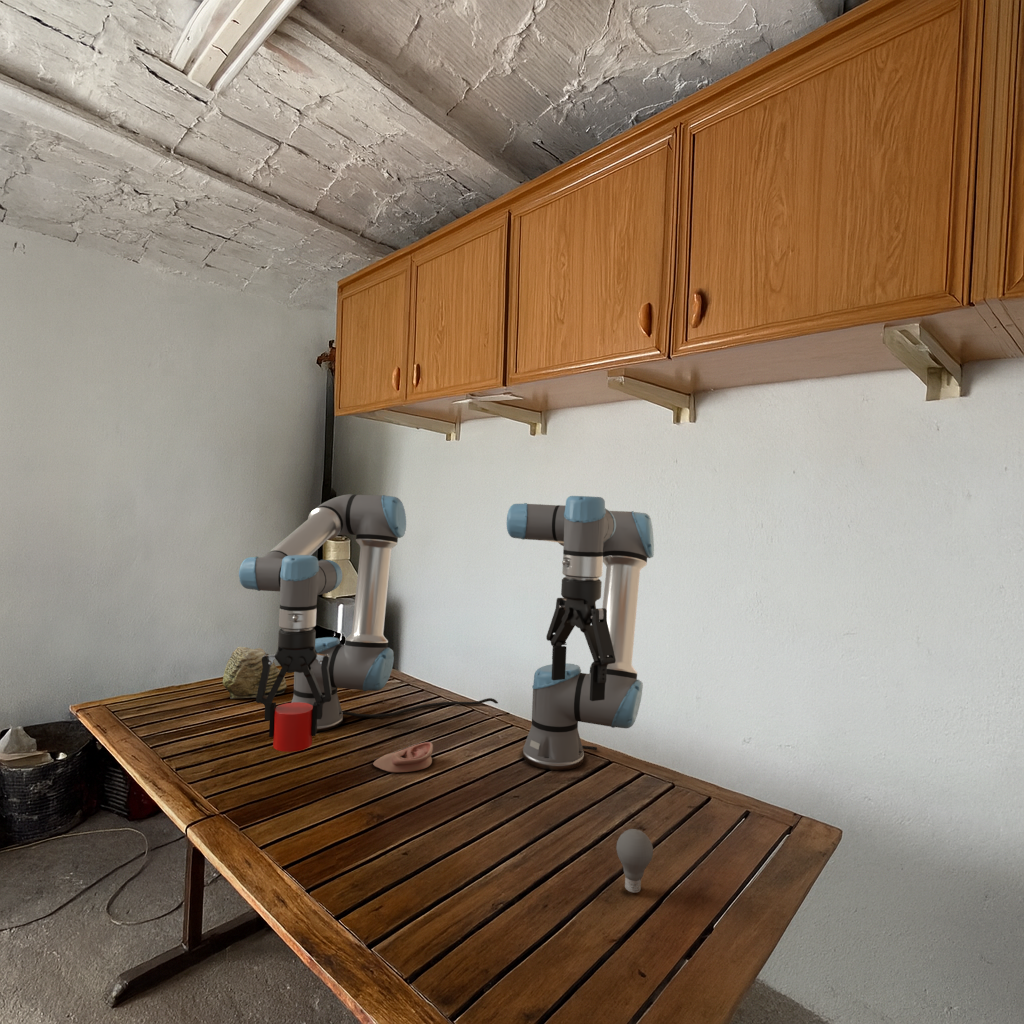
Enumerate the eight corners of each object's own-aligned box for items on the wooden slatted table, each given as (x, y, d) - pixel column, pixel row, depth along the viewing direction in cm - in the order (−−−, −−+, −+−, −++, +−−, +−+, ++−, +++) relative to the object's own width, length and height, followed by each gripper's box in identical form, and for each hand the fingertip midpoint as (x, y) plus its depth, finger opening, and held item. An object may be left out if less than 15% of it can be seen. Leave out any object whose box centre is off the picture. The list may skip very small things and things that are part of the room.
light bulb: (610, 879, 108) (613, 822, 108) (644, 879, 109) (647, 822, 109) (619, 902, 102) (622, 840, 102) (655, 901, 103) (658, 840, 103)
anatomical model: (368, 752, 148) (387, 734, 159) (367, 769, 148) (386, 750, 159) (422, 759, 145) (438, 741, 156) (421, 776, 145) (437, 757, 156)
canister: (310, 751, 132) (311, 713, 132) (270, 752, 130) (271, 714, 130) (313, 737, 140) (315, 701, 140) (275, 738, 138) (277, 702, 138)
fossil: (218, 695, 195) (220, 647, 195) (278, 685, 208) (279, 640, 207) (228, 703, 189) (230, 653, 188) (289, 692, 201) (290, 645, 201)
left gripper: (241, 631, 129) (237, 742, 130) (346, 632, 133) (342, 739, 134) (249, 624, 137) (245, 729, 137) (348, 625, 141) (344, 726, 141)
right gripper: (532, 569, 129) (528, 673, 130) (603, 587, 107) (597, 712, 107) (564, 569, 133) (559, 670, 133) (639, 586, 110) (633, 707, 111)
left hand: (293, 734), depth 135 cm, fingers closed on canister, 8 cm apart
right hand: (576, 689), depth 120 cm, fingers open, 13 cm apart
